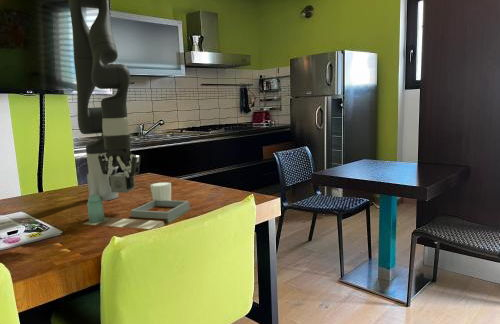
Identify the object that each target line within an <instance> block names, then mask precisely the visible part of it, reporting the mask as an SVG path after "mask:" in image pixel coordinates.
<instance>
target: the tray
mask: <svg viewBox="0 0 500 324" xmlns="http://www.w3.org/2000/svg"><path fill="white" fill-rule="evenodd" d="M154 207H167V208H168V207H169V208H170V207H171V209H169V210H168V211H157V210H156V211H155V210H150V209H153V208H154ZM190 211H191V208H190V201H189V200H172V199H171V200H153V199H152V200H151V201H149V202H146V203H145V204H142V205H140V206H137V207H136V208H132V209H131V210H130V217H131V218H145V219H158V220H159V219H162V220H164V221H163V222H164V224H169V223H171V222H173V221H174V220H176V219H178V218H180V217H181V216H183V215H185V214H187V213H188V212H190Z"/></svg>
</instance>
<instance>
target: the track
mask: <svg viewBox="0 0 500 324" xmlns="http://www.w3.org/2000/svg"><path fill="white" fill-rule="evenodd" d="M83 225H89V226H104V227H117V228H118V227H119V228H130V229H143V230H151V229H155V228H158V227H160V228H162V227H164V226H165V223H164V221H163V220H151V219H149V220H148V219H135V218H117V217H105V216H104V221H102V222H98V223H90V222H89V221H86V222H84V223H83Z"/></svg>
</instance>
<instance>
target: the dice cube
mask: <svg viewBox="0 0 500 324" xmlns="http://www.w3.org/2000/svg"><path fill="white" fill-rule="evenodd" d="M126 178H127V177H126V175H125V173H124V172H116V174H114V175H112V176H110V182H111V192H117V193H118V194H120V193H122V194H123V193H124V194H127V193H130V192H131V191H133V190H134V189H136V186H135V184H136V183H135V182H134V187H133V188H132V189H130V190H129V189H127V183H126ZM133 179H134V180H135V175H134V176H133Z"/></svg>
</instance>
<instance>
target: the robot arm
mask: <svg viewBox="0 0 500 324" xmlns="http://www.w3.org/2000/svg"><path fill="white" fill-rule="evenodd" d="M68 7H69V12H70V19H71V21H70V22H71V27H72V28H71V29H72V31H71V32H72V46H73V49H72V50H73V62H74V63H73V64H74V72H75V73H74V74H75V81H76V83H75V84H76V96H77V97H76V98H77V99H76V100H77V101H76V102H77V103H76V104H77V108H76V109H77V124H78V130H79V132H80V133H81V134H82V135H94V134H101V136H100V137H99V138H98V139H97V140H95V141H93V142H90V143H88V144H87V145H85V153H86V160H87V161H86V162H87V169H88V173H87V174H86V180H87V189H88V195H89V196H90V195H92V194H97V195H99V196H100V200H102V202H104V201H105V202H106V201H110V200H111V201H112V200H115V199H117V198H119V193H117V192H111V182H110V176H112V175H114V174H117V170H118V169H119V168H121V170H122V171H123V173H125V175H126V177H127V178H126V183H127V189H129V190H130V189H132V188H133V187H134V183H135V178H134V179H133V176H134V177H135V176H136V175H139V173H140V165H141V155H139V154H138V155H137V154H132V151H131V147H132V141H131V130H130V122H129V119H128V118H129V117H128V108H127V101H128V100H127V98H128V97H127V96H128V91H129V87H130V83H131V82H130V81H131V73H130V70H129V68H128V67H127V66H126V65H125V64H122V63H114V62H115V61H116V60H117V59H118V56H119V55H118V49H117V46H116V43H115V39H114V36H113V30H112V22H111V21H112V19H111V11H110V3H109V0H68ZM82 8H85V9H86V8H87V9H98V12H97V16H96V18H95V19H94V21H93V22H92V24H91V26H90V28H89V26H88V24H87V23H86V21H85V18H84V15H83V12H82ZM96 88H97V89H99V90H116V92H115V95H111V96H108V97H105V98H102V99H101V100H100V107H99V106H96V107H89V103H90V99H91V97H92V94H93V92H94V90H95V89H96ZM89 196H88V197H89Z"/></svg>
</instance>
